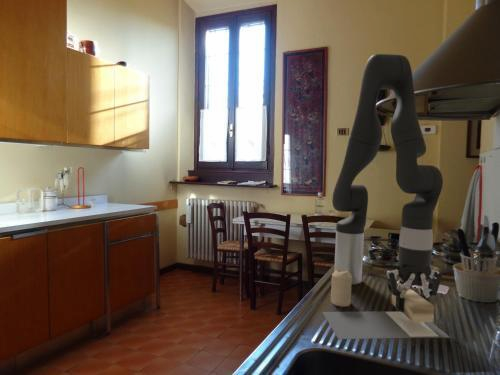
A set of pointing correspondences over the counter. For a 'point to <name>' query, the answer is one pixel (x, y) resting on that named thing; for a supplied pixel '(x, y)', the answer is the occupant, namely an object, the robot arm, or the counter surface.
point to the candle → (341, 288)
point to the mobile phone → (441, 288)
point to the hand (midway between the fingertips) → (411, 310)
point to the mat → (380, 326)
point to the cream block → (416, 307)
